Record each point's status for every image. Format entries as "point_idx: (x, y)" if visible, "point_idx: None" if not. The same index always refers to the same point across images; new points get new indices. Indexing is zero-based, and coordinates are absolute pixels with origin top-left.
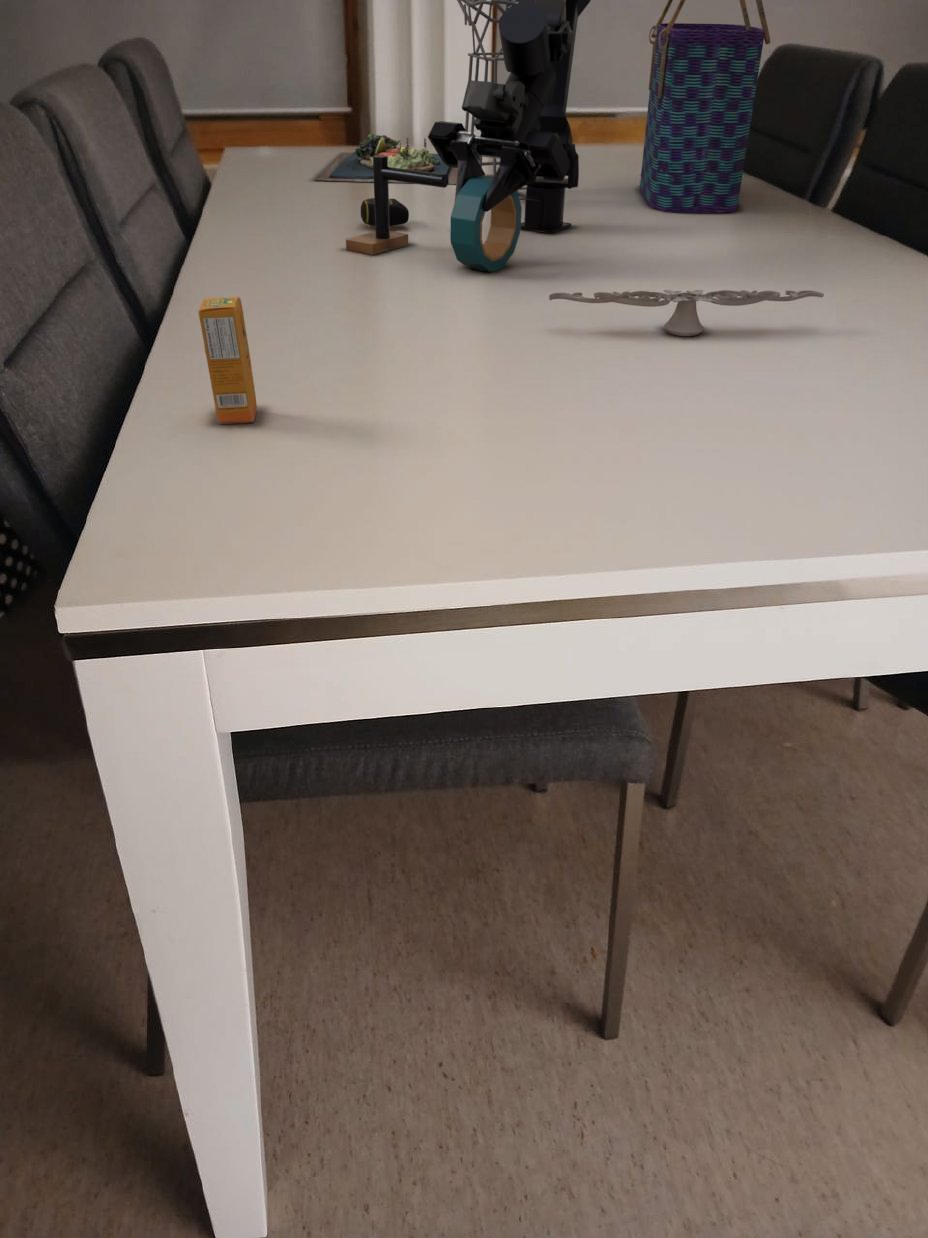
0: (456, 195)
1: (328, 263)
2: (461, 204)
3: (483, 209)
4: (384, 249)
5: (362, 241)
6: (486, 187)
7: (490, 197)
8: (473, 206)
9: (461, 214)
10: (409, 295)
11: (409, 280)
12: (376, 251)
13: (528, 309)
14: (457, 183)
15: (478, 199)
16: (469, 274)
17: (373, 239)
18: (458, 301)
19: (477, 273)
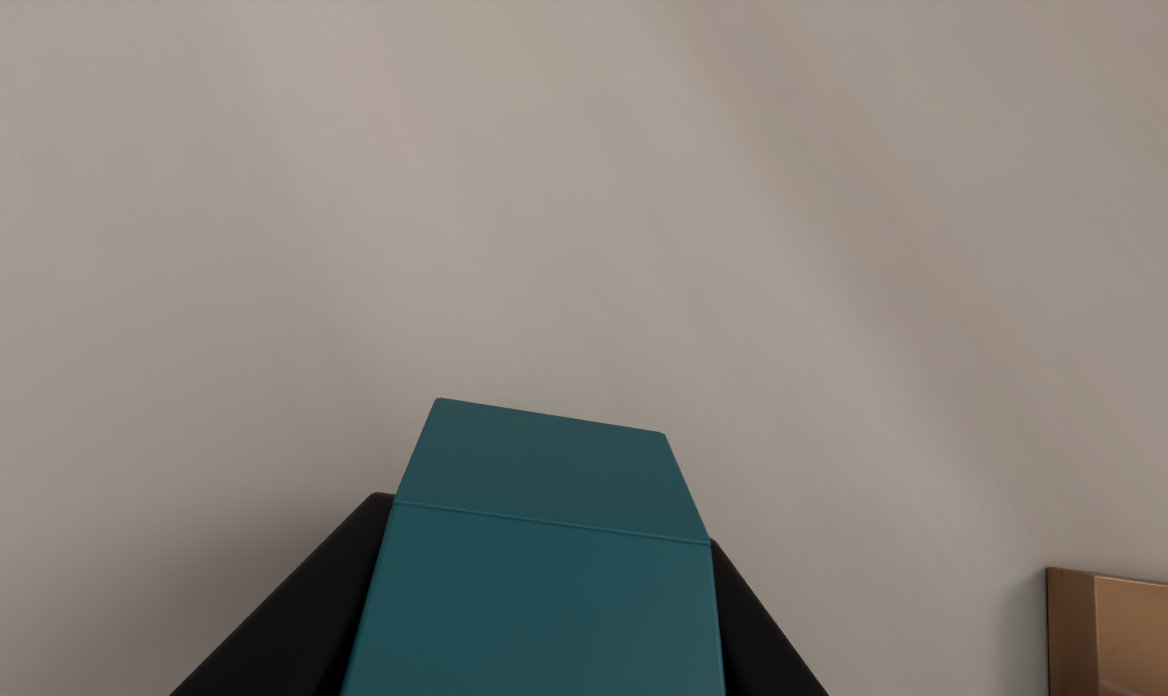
0: (732, 580)
1: (1087, 346)
2: (612, 479)
3: None
4: (1056, 655)
5: (1158, 593)
6: (387, 682)
7: (305, 561)
8: (477, 457)
9: (574, 431)
10: (575, 74)
11: (687, 263)
12: (1056, 592)
13: (23, 75)
14: (816, 693)
15: (435, 492)
16: None
17: (1149, 664)
18: (361, 72)
19: None
